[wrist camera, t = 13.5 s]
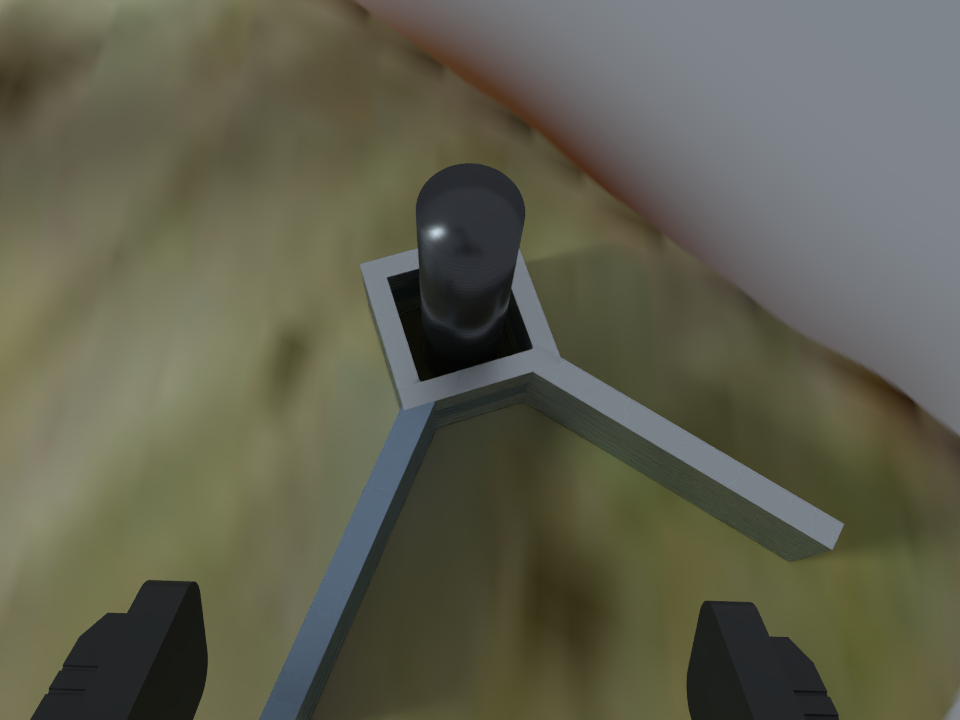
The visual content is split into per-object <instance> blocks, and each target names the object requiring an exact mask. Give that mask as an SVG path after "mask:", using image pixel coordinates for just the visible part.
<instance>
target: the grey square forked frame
mask: <svg viewBox="0 0 960 720" xmlns="http://www.w3.org/2000/svg"><path fill="white" fill-rule="evenodd" d="M359 265H360V269H361V274H362V278H363V283H364V287H365V292H366V296H367V301H368V305H369V308H370V311H371V315H372V318H373V321H374V324H375V328H376V331H377V334H378V338H379V341H380V344H381V347H382V351H383V354H384V357H385V360H386V364H387V367H388V370H389V373H390V377H391V380H392V383H393V387H394V390H395V393H396V396H397V400H398V403H399V406H400V411H399V413H398V415H397V418H396V420H395V422H394V424H393V426H392V429H391V431H390V433H389V435H388V437H387V440H386V442H385V444H384V446H383V448H382V451H381V453H380V455H379V457H378V459H377V462H376V464H375V466H374V468H373V470H372V473H371V475H370V477H369V479H368V481H367V484H366V486H365V488H364V490H363V492H362V495H361V497H360V499H359V501H358V503H357V505H356V508H355V510H354V512H353V514H352V516H351V519H350V521H349V523H348V525H347V527H346V530H345V532H344V534H343V536H342V538H341V541H340V543H339V545H338V547H337V549H336V552H335V554H334V556H333V558H332V560H331V563H330V565H329V567H328V569H327V571H326V574H325V576H324V578H323V580H322V582H321V585H320V587H319V589H318V591H317V593H316V596H315V598H314V600H313V602H312V604H311V607H310V609H309V611H308V613H307V615H306V618H305V620H304V622H303V624H302V626H301V629H300V631H299V633H298V635H297V637H296V640H295V642H294V644H293V646H292V648H291V651H290V653H289V655H288V657H287V659H286V662H285V664H284V666H283V668H282V670H281V673H280V675H279V677H278V679H277V681H276V684H275V686H274V688H273V690H272V692H271V695H270V697H269V699H268V701H267V703H266V706H265V708H264V710H263V712H262V714H261V717H260V719H259V720H310V718H311V716H312V713H313V711H314V709H315V707H316V704H317V702H318V700H319V697H320V695H321V693H322V691H323V688H324V686H325V684H326V681H327V679H328V677H329V674H330V672H331V670H332V668H333V665H334V663H335V661H336V658H337V656H338V654H339V651H340V649H341V647H342V645H343V642H344V640H345V638H346V635H347V633H348V631H349V628H350V626H351V624H352V622H353V619H354V617H355V615H356V612H357V610H358V608H359V605H360V603H361V601H362V599H363V596H364V594H365V592H366V589H367V587H368V585H369V582H370V580H371V578H372V576H373V573H374V571H375V569H376V566H377V564H378V562H379V560H380V557H381V555H382V553H383V550H384V548H385V546H386V543H387V541H388V539H389V537H390V534H391V532H392V530H393V527H394V525H395V523H396V520H397V518H398V516H399V514H400V511H401V509H402V507H403V504H404V502H405V500H406V497H407V495H408V493H409V491H410V488H411V486H412V484H413V481H414V479H415V477H416V474H417V472H418V470H419V468H420V465H421V463H422V461H423V458H424V456H425V454H426V451H427V449H428V447H429V445H430V442H431V440H432V438H433V435H434V433H435V431H436V429H437V428H438V427H441V426H445V425H448V424H451V423H454V422H458V421H461V420H464V419H468V418H471V417H474V416H477V415H481V414H484V413H487V412H491V411H494V410H497V409H500V408H504V407H507V406H510V405H514V404H517V403H520V402H523V401H524V402H525V403H527V404H529V405H530V406H532V407H534V408H535V409H537V410H539V411H540V412H542V413H544V414H545V415H547V416H549V417H550V418H552V419H554V420H555V421H557V422H559V423H560V424H562V425H564V426H565V427H567V428H569V429H570V430H572V431H574V432H575V433H577V434H579V435H580V436H582V437H584V438H585V439H587V440H589V441H590V442H592V443H594V444H595V445H597V446H599V447H600V448H602V449H604V450H605V451H607V452H609V453H610V454H612V455H613V456H615V457H617V458H618V459H620V460H622V461H623V462H625V463H627V464H628V465H630V466H632V467H633V468H635V469H637V470H638V471H640V472H642V473H643V474H645V475H647V476H648V477H650V478H652V479H653V480H655V481H657V482H658V483H660V484H662V485H663V486H665V487H667V488H668V489H670V490H672V491H673V492H675V493H677V494H678V495H680V496H682V497H683V498H685V499H687V500H688V501H690V502H692V503H693V504H695V505H696V506H698V507H700V508H701V509H703V510H705V511H706V512H708V513H710V514H711V515H713V516H715V517H716V518H718V519H720V520H721V521H723V522H725V523H726V524H728V525H730V526H731V527H733V528H735V529H736V530H738V531H740V532H741V533H743V534H745V535H746V536H748V537H750V538H751V539H753V540H755V541H756V542H758V543H760V544H761V545H763V546H765V547H766V548H768V549H770V550H771V551H773V552H775V553H776V554H778V555H779V556H781V557H783V558H784V559H786V560H788V561H789V562H791V561H794V560H798V559H802V558H805V557H809V556H812V555H816V554H820V553H823V552H827V551H830V550H833V547H834V545H835V543H836V541H837V539H838V537H839V534H840V532H841V530H842V528H843V526H844V524H843V523H841V522H840V521H838V520H836V519H835V518H833V517H831V516H830V515H828V514H826V513H824V512H823V511H821V510H819V509H818V508H816V507H814V506H813V505H811V504H809V503H807V502H806V501H804V500H802V499H801V498H799V497H797V496H796V495H794V494H792V493H791V492H789V491H787V490H785V489H784V488H782V487H780V486H779V485H777V484H775V483H774V482H772V481H770V480H768V479H767V478H765V477H763V476H762V475H760V474H758V473H757V472H755V471H753V470H751V469H750V468H748V467H746V466H745V465H743V464H741V463H740V462H738V461H736V460H734V459H733V458H731V457H729V456H728V455H726V454H724V453H723V452H721V451H719V450H717V449H716V448H714V447H712V446H711V445H709V444H707V443H706V442H704V441H702V440H700V439H699V438H697V437H695V436H694V435H692V434H690V433H689V432H687V431H685V430H683V429H682V428H680V427H678V426H677V425H675V424H673V423H672V422H670V421H668V420H666V419H665V418H663V417H661V416H660V415H658V414H656V413H655V412H653V411H651V410H650V409H648V408H646V407H644V406H643V405H641V404H639V403H638V402H636V401H634V400H633V399H631V398H629V397H627V396H626V395H624V394H622V393H621V392H619V391H617V390H616V389H614V388H612V387H610V386H609V385H607V384H605V383H604V382H602V381H600V380H599V379H597V378H595V377H593V376H592V375H590V374H588V373H587V372H585V371H583V370H582V369H580V368H578V367H576V366H575V365H573V364H571V363H570V362H568V361H566V360H565V359H563V358H561V357H560V354H559V352H558V349H557V347H556V344H555V341H554V339H553V336H552V333H551V331H550V328H549V325H548V323H547V320H546V318H545V315H544V312H543V310H542V307H541V304H540V302H539V299H538V296H537V294H536V291H535V289H534V286H533V283H532V281H531V278H530V275H529V273H528V270H527V267H526V265H525V262H524V260H523V257H522V254H521V252H520V249H519V251H518V256H517V262H516V267H515V272H514V277H513V283H512V288H511V293H510V298H509V303H508V309H507V314H506V319H505V327H506V330H507V333H508V336H509V338H510V341H511V344H512V347H513V349H514V352H515V354H514V355H511V356H507V357H504V358H501V359H497V360H494V361H491V362H487V363H484V364H480V365H477V366H474V367H470V368H467V369H463V370H460V371H457V372H453V373H450V374H447V375H443V376H440V377H436V378H433V379H430V380H426V381H423V382H422V381H420V380H419V378H418V375H417V371H416V368H415V365H414V362H413V359H412V356H411V353H410V349H409V346H408V343H407V340H406V337H405V334H404V331H403V327H402V324H401V321H400V318H399V315H398V314H401V313H404V312H408V311H411V310H415V309H418V308H421V297H420V278H419V260H418V248H417V249H413V250H410V251H406V252H402V253H399V254H395V255H391V256H388V257H384V258H380V259H377V260H373V261H369V262H366V263H362V264H359Z"/></svg>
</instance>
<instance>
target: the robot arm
mask: <svg viewBox="0 0 960 720" xmlns="http://www.w3.org/2000/svg"><path fill="white" fill-rule="evenodd" d="M207 666H208V653H207V645H206V636H205V628H204V620H203V612H202V604H201V595H200V589H199V586H198V584H197V583H196V582H191V581H162V580H148V581H146V582H145V583H144V584H143V585H142V587H141V588H140V590H139V592H138V594H137V596H136V598H135V600H134V601H133V603H132V605H131V607H130V609H129V611H128V612H127V613H107V614H106V615H104V616H103V617H102V618H101V619H100V620H99V621H97V622H96V623H95V624H94V625H93V626H92V627H90V628H89V629H88V630H87V631H86V632H85V633H83V634H82V635H81V636H80V637H79V638H78V640H77V642H76V644H75V645H74V647H73V649H72V650H71V652H70V654H69V655H68V657H67V659H66V660H65V662H64V664H63V669H62V671H59V672H58V674H57V676H56V677H55V679H54V681H53V682H52V684H51V686H50V687H49V693H48V694H45V696H44V697H43V699H42V701H41V703H40V704H39V706H38V708H37V709H36V711H35V713H34V714H33V716H32V718H31V719H30V720H193V718H194V716H195V713H196V710H197V708H198V705H199V702H200V700H201V697H202V694H203V691H204V687H205V682H206V676H207ZM687 700H688V707H689V712H690V716H691V719H692V720H839V718H838V713H837V711H836V709H835V707H834V704H833V702H832V700H831V698H830V697H828V696H827V690H826V688H825V686H824V684H823V682H822V680H821V678H820V676H819V674H818V672H817V670H816V668H815V665H814V663H813V662H812V661H811V660H810V659H809V658H808V657H807V656H806V655H805V654H804V653H803V652H802V651H801V650H800V649H799V648H798V647H797V646H796V645H795V644H794V643H793V642H792V641H791V640H790V639H789V638H788V637H769V634H768V632H767V630H766V628H765V625H764V623H763V621H762V619H761V616H760V614H759V612H758V610H757V608H756V606H755V605H754V604H753V603H751V602H727V601H705V602H703V604H702V606H701V609H700V613H699V618H698V623H697V628H696V632H695V637H694V642H693V647H692V652H691V657H690V661H689V666H688V672H687Z"/></svg>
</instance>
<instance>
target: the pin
mask: <svg viewBox="0 0 960 720" xmlns="http://www.w3.org/2000/svg"><path fill="white" fill-rule="evenodd" d="M524 219H525V206H524V201H523V198H522V196H521V193H520V191H519V190H518V188H517V187H516V185H515V184H514V183H513V182H512V181H511V180H510V179H509V178H508V177H507V176H506V175H504V174H503V173H501V172H500V171H498V170H496V169H494V168H491V167H488V166H485V165H480V164H459V165H454V166H451V167H447V168H445V169H443V170H441V171H439V172H438V173H436V174H435V175H434V176H432V177H431V178H430V179H429V180H428V181H427V182H426V183H425V185H424V186H423V188H422V189H421V191H420V193H419V196H418V199H417V204H416V223H417V242H418V260H419V278H420V297H421V315H422V333H423V351H424V359H425V362H426V365H427V367H428V368H429V370H430V371H431V373H432V374H433V375H434V376H435V377H440V376H443V375H447V374H450V373H453V372H457V371H460V370H463V369H467V368H470V367H474V366H477V365H480V364H484V363H487V362H491V361H494V360H497V359H498V356H499V350H500V345H501V340H502V335H503V330H504V324H505V319H506V314H507V309H508V303H509V298H510V293H511V288H512V283H513V277H514V272H515V267H516V262H517V256H518V251H519V246H520V241H521V235H522V230H523V225H524Z"/></svg>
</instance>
